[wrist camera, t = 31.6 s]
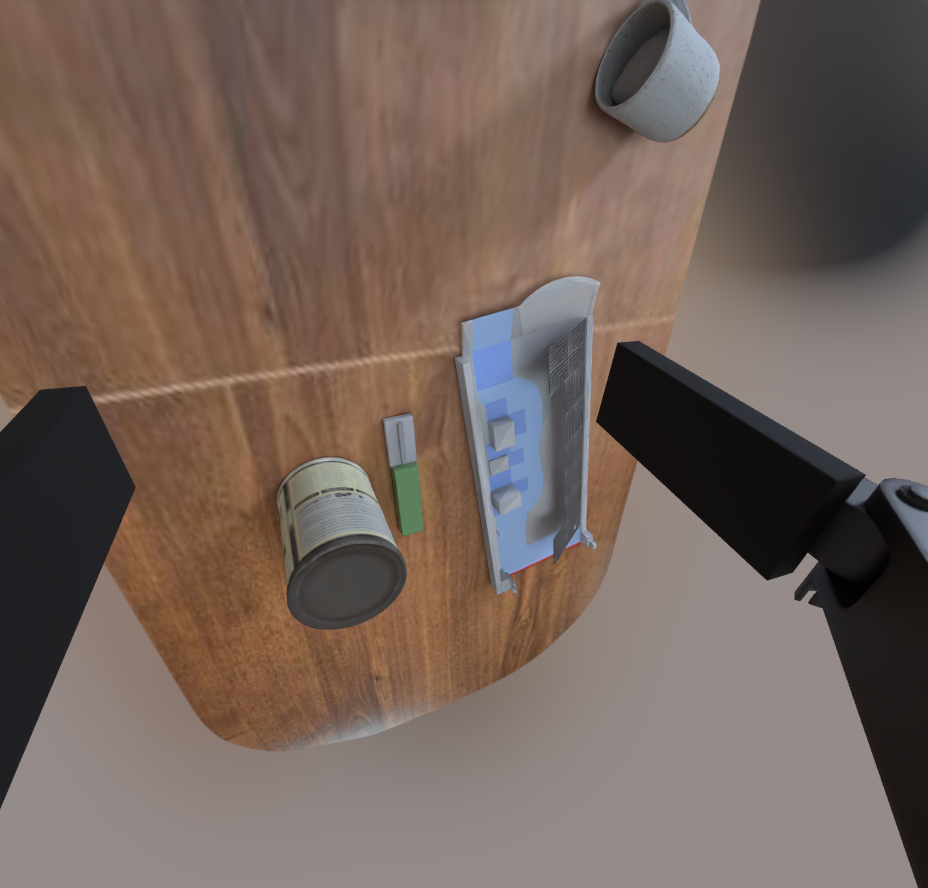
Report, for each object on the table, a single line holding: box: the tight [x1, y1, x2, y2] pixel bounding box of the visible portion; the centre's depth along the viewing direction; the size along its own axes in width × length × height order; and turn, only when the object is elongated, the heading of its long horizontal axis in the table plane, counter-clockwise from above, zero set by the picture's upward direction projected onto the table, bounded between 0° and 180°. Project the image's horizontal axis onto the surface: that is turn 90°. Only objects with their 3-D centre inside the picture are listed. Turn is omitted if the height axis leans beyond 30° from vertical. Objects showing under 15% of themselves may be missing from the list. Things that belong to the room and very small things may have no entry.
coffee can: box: [277, 457, 407, 630], centre depth 43 cm, size 10×10×14 cm
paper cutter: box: [454, 276, 601, 594], centre depth 56 cm, size 18×45×6 cm, turn 9°
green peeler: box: [383, 413, 424, 536], centre depth 51 cm, size 16×3×2 cm, turn 1°
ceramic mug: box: [595, 0, 720, 143], centre depth 37 cm, size 11×8×8 cm
